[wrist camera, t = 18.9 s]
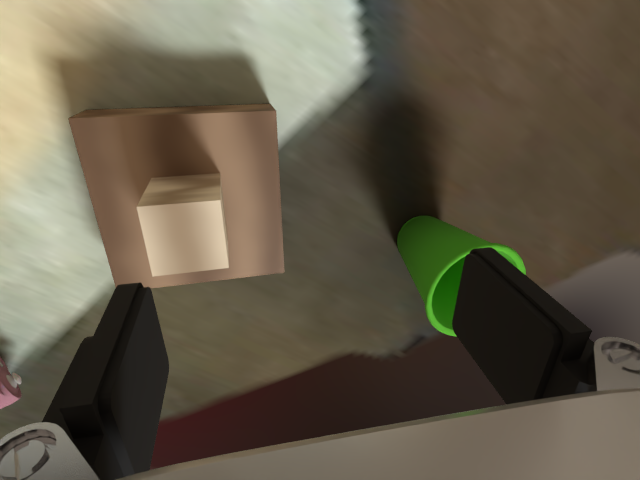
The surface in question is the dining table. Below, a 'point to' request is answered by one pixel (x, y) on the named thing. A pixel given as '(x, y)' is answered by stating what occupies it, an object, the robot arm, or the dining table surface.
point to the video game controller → (8, 386)
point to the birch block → (184, 224)
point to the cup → (441, 263)
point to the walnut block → (180, 160)
